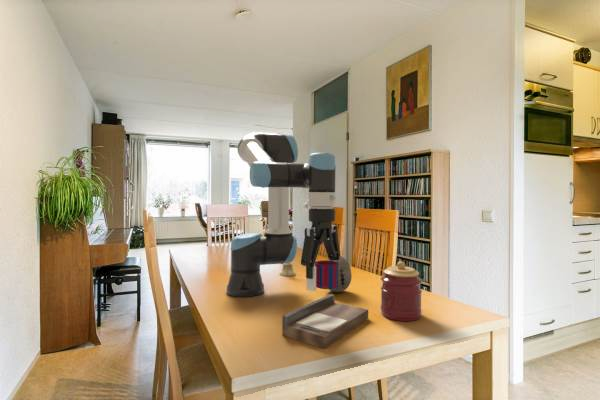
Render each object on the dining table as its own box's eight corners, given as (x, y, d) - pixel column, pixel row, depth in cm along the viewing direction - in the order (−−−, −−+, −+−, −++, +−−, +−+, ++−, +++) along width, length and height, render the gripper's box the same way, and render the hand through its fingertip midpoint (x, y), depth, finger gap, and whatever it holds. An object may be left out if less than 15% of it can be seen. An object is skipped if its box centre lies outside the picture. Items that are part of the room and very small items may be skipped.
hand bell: (276, 273, 170) (276, 241, 170) (292, 271, 173) (292, 240, 173) (283, 277, 162) (283, 243, 162) (298, 275, 166) (298, 242, 166)
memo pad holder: (282, 335, 95) (282, 315, 95) (330, 309, 116) (330, 293, 116) (324, 348, 87) (324, 327, 87) (368, 318, 108) (368, 301, 108)
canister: (398, 324, 103) (398, 267, 103) (372, 311, 115) (373, 259, 115) (430, 318, 108) (431, 263, 108) (403, 306, 120) (403, 256, 120)
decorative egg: (356, 294, 133) (356, 257, 133) (328, 297, 130) (328, 258, 130) (344, 287, 145) (344, 252, 144) (318, 289, 141) (318, 253, 141)
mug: (342, 287, 96) (342, 263, 96) (311, 292, 91) (312, 267, 91) (330, 282, 102) (330, 259, 102) (300, 286, 97) (300, 262, 97)
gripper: (310, 209, 85) (310, 297, 85) (352, 207, 103) (351, 280, 103) (287, 208, 89) (286, 292, 90) (331, 206, 107) (330, 276, 108)
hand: (321, 285), depth 96 cm, fingers closed on mug, 10 cm apart
